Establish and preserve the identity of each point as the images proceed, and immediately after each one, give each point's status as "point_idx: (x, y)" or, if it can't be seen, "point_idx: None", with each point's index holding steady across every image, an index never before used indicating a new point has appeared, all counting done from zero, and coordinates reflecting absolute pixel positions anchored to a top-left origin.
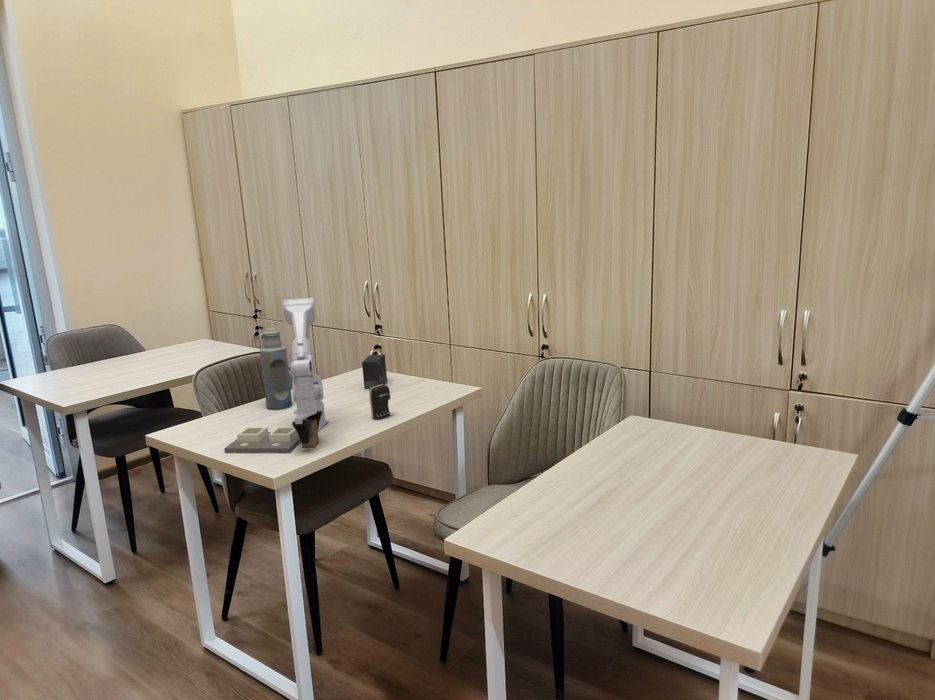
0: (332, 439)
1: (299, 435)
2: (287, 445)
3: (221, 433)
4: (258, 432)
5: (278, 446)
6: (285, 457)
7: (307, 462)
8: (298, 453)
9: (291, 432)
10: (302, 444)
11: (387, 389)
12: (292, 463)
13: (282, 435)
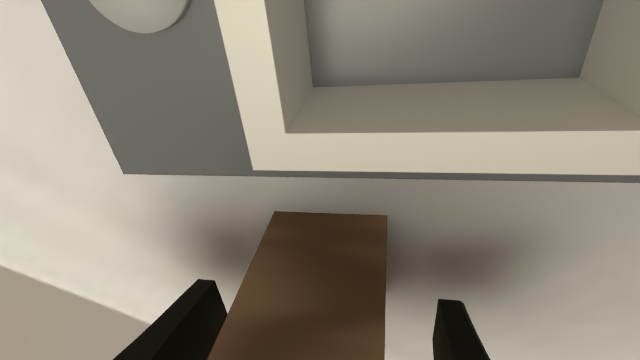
0: None
1: (129, 353)
2: (183, 128)
3: None
4: None
5: (115, 30)
6: (72, 155)
7: (89, 295)
8: (176, 217)
9: (352, 162)
10: (263, 242)
11: None
12: (31, 233)
13: (231, 30)
